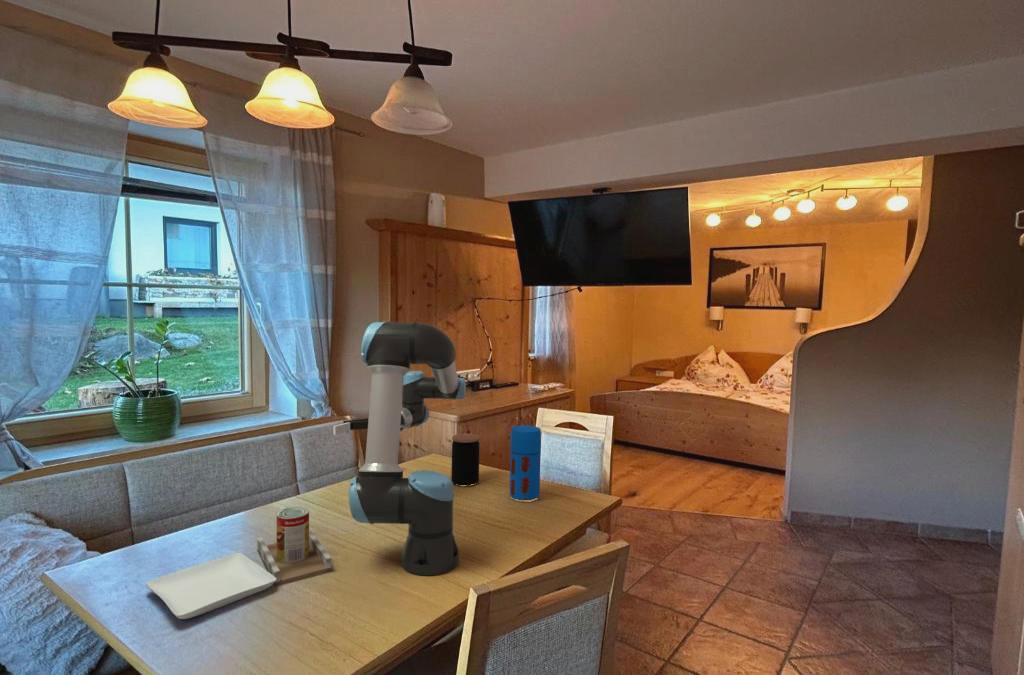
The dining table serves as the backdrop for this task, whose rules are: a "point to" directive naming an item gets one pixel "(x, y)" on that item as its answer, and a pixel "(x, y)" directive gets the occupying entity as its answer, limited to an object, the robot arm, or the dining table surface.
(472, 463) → the coffee jar
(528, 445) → the thermos
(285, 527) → the canned food
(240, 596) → the salad plate
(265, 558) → the track
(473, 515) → the dining table surface
